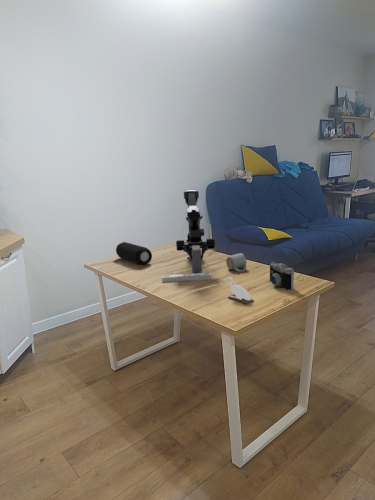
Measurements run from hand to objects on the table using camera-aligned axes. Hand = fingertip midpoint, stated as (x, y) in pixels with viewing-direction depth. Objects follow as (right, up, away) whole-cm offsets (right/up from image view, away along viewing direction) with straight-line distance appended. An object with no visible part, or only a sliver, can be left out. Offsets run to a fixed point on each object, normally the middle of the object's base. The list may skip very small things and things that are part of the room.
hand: (196, 259), depth 171 cm
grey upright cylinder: (0, -6, +3) cm, 7 cm away
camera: (+36, -11, -13) cm, 40 cm away
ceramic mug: (+21, -5, +12) cm, 25 cm away
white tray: (-5, -9, +3) cm, 11 cm away
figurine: (+16, -15, -25) cm, 33 cm away
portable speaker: (-35, -2, +37) cm, 51 cm away
